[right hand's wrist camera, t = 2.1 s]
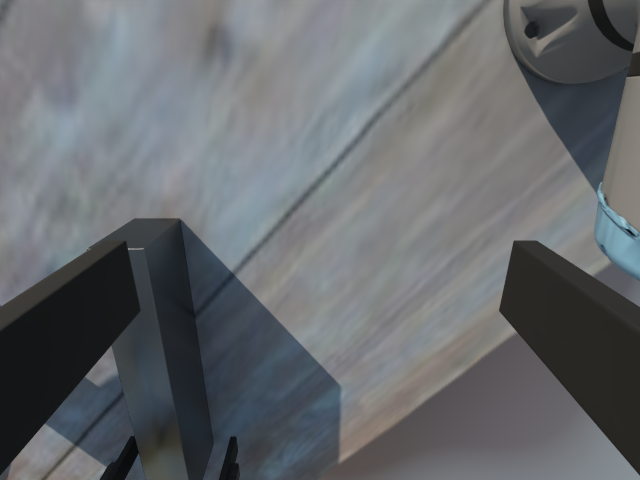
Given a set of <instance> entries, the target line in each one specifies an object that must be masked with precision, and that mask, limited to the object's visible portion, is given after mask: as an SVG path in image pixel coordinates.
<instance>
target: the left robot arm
mask: <svg viewBox="0 0 640 480" xmlns="http://www.w3.org/2000/svg"><path fill="white" fill-rule="evenodd" d="M138 453H139V451H138V447H137V443H136V439H135V436H131V437H130V439H129V440H128V442H127V444H126V446H125V447H124V449H123V451H122V452H121V454H120V456H119V458H118V459H117V461H116V463H111V464H110V465H109V466H108V467H107V468H106V470H105V472H104V473H103V475H102V477H101V478H100V480H125V478H126V476H127V474H128V472H129V470H130V469H131V467H132V465H133V463H134V461H135V459H136V457H137V455H138ZM237 453H238V447H237V438H236V437H231V438H230V441H229V445H228V449H227V452H226V456H225V460H224V463H223V467H222V471H221V474H220V478H219V480H239V477H240V472H239V465H238V463H235V461H236V457H237Z"/></svg>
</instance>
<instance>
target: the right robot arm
mask: <svg viewBox="0 0 640 480" xmlns="http://www.w3.org/2000/svg"><path fill="white" fill-rule="evenodd" d="M504 26H505V31H506V35H507V39H508V42H509V44H510V47H511V49H512V51H513V53H514V55H515V56H516V58H517V59H518V61H519V62H520V63H521V64H522V65H523V66H524V67H525V68H526V69H527V70H528V71H529V72H530V73H532V74H533V75H535V76H537V77H539V78H540V79H543V80H545V81H548V82H552V83H557V84H580V83H589V82H594V81H597V80H601V79H604V78H608V77H611V76H613V75H616V74H618V73H620V72H622V71H624V70H626V69H628V68H629V71H628V75H627V77H626V81H625V86H624V90H623V95H622V99H621V104H620V108H619V112H618V117H617V121H616V126H615V130H614V135H613V139H612V143H611V148H610V152H609V157H608V161H607V165H606V169H605V173H604V177H603V181H602V182H601V183H600V184H599V187H598V191H597V197H598V208H597V215H596V221H595V226H594V236H595V240H596V243H597V245H598V247H599V248H600V249H601V251H602V252H603V253H604V254H605V255H606V256H607V257H608V258H609V260H610V261H611V262H612V263H613V264H614V265H616V266H617V267H618V268H620V269H621V270H623V271H624V272H626V273H627V274H629V275H630V276H632V277H634V278H635V279H637V280H639V281H640V0H504ZM140 311H141V309H140V304H139V299H138V295H137V290H136V285H135V280H134V276H133V271H132V266H131V261H130V257H129V252H128V247H127V242H126V241H102V242H101V243H99V244H98V245H96V246H94V247H93V248H91V249H90V250H88V251H87V252H85V253H84V254H82V255H80V256H79V257H77V258H76V259H74V260H73V261H71V262H70V263H68V264H66V265H65V266H63V267H62V268H60V269H59V270H57V271H56V272H54V273H53V274H51V275H49V276H48V277H46V278H45V279H43V280H42V281H40V282H39V283H37V284H35V285H34V286H32V287H31V288H29V289H28V290H26V291H25V292H23V293H21V294H20V295H18V296H17V297H15V298H14V299H12V300H11V301H9V302H7V303H6V304H4V305H3V306H1V307H0V475H1V474H2V473H3V472H4V470H5V469H6V468H7V467H8V466H9V464H10V463H11V462H12V461H13V460H14V459H15V457H16V456H17V455H18V454H19V453H20V452H21V450H22V449H23V448H24V447H25V446H26V445H27V443H28V442H29V441H30V440H31V439H32V438H33V436H34V435H35V434H36V433H37V432H38V431H39V429H40V428H41V427H42V426H43V425H44V424H45V422H46V421H47V420H48V419H49V418H50V417H51V415H52V414H53V413H54V412H55V411H56V410H57V408H58V407H59V406H60V405H61V404H62V402H63V401H64V400H65V399H66V398H67V397H68V395H69V394H70V393H71V392H72V391H73V390H74V388H75V387H76V386H77V385H78V384H79V383H80V381H81V380H82V379H83V378H84V377H85V376H86V374H87V373H88V372H89V371H90V370H91V369H92V367H93V366H94V365H95V364H96V363H97V362H98V360H99V359H100V358H101V357H102V356H103V355H104V353H105V352H106V351H107V350H108V349H109V347H110V346H111V345H112V344H113V343H114V342H115V340H116V339H117V338H118V337H119V336H120V335H121V333H122V332H123V331H124V330H125V329H126V328H127V326H128V325H129V324H130V323H131V322H132V321H133V319H134V318H135V317H136V316H137V315H138V314H139V312H140ZM499 311H500V312H501V314H502V315H503V316H504V317H505V318H506V319H507V321H508V322H509V323H510V324H511V325H512V326H513V328H514V329H515V330H516V331H517V332H518V333H519V335H520V336H521V337H522V338H523V339H524V340H525V342H526V343H527V344H528V345H529V346H530V347H531V349H532V350H533V351H534V352H535V353H536V355H537V356H538V357H539V358H540V359H541V360H542V362H543V363H544V364H545V365H546V366H547V367H548V369H549V370H550V371H551V372H552V373H553V374H554V376H555V377H556V378H557V379H558V380H559V381H560V383H561V384H562V385H563V386H564V387H565V388H566V390H567V391H568V392H569V393H570V394H571V395H572V397H573V398H574V399H575V400H576V401H577V402H578V404H579V405H580V406H581V407H582V408H583V409H584V411H585V412H586V413H587V414H588V415H589V417H590V418H591V419H592V420H593V421H594V422H595V423H596V425H597V426H598V427H599V428H600V429H601V431H602V432H603V433H604V434H605V435H606V436H607V438H608V439H609V440H610V441H611V442H612V443H613V445H614V446H615V447H616V448H617V449H618V450H619V452H620V453H621V454H622V455H623V456H624V457H625V459H626V460H627V461H628V462H629V463H630V465H631V466H632V467H633V468H634V469H635V470H636V472H637V473H638V474H639V475H640V307H639V306H637V305H636V304H634V303H633V302H631V301H629V300H628V299H626V298H625V297H623V296H622V295H620V294H618V293H617V292H615V291H614V290H612V289H611V288H609V287H608V286H606V285H605V284H603V283H601V282H600V281H598V280H597V279H595V278H594V277H592V276H591V275H589V274H587V273H586V272H584V271H583V270H581V269H580V268H578V267H577V266H575V265H574V264H572V263H570V262H569V261H567V260H566V259H564V258H563V257H561V256H560V255H558V254H556V253H555V252H553V251H552V250H550V249H549V248H547V247H546V246H544V245H542V244H541V243H539V242H538V241H514V242H513V247H512V252H511V257H510V261H509V266H508V271H507V276H506V280H505V285H504V290H503V295H502V299H501V304H500V309H499Z"/></svg>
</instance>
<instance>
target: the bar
mask: <svg viewBox="0 0 640 480" xmlns="http://www.w3.org/2000/svg"><path fill="white" fill-rule="evenodd" d="M102 241H126V242H127V247H128V252H129V257H130V261H131V266H132V271H133V276H134V280H135V285H136V290H137V295H138V299H139V304H140V309H141V311H140V312H139V314H138V315H137V316H136V317H135V318H134V319H133V321H132V322H131V323H130V324H129V325H128V326H127V328H126V329H125V330H124V331H123V332H122V333H121V335H120V336H119V337H118V338H117V339H116V340H115V342H114V343H113V344H112V349H113V353H114V357H115V361H116V365H117V369H118V373H119V377H120V381H121V385H122V388H123V392H124V396H125V400H126V404H127V408H128V412H129V416H130V420H131V424H132V427H133V431H134V435H135V439H136V443H137V447H138V451H139V455H140V459H141V463H142V467H143V470H144V474H145V478H146V480H203V476H204V473H205V470H206V467H207V463H208V460H209V457H210V454H211V451H212V447H213V437H212V431H211V424H210V417H209V410H208V404H207V397H206V390H205V384H204V377H203V370H202V363H201V357H200V350H199V343H198V337H197V330H196V323H195V316H194V310H193V303H192V296H191V289H190V283H189V276H188V269H187V263H186V256H185V249H184V242H183V236H182V229H181V222H180V219H133V220H132V221H130V222H129V223H127V224H125V225H124V226H122V227H121V228H119V229H117V230H116V231H114V232H113V233H111V234H110V235H108V236H106V237H105V238H103V239H102V240H100V241H99V242H97V243H95V244H94V245H92V246H91V247H89V248H87V251H88V250H90V249H91V248H93V247H94V246H96V245H98V244H99V243H101V242H102Z"/></svg>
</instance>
